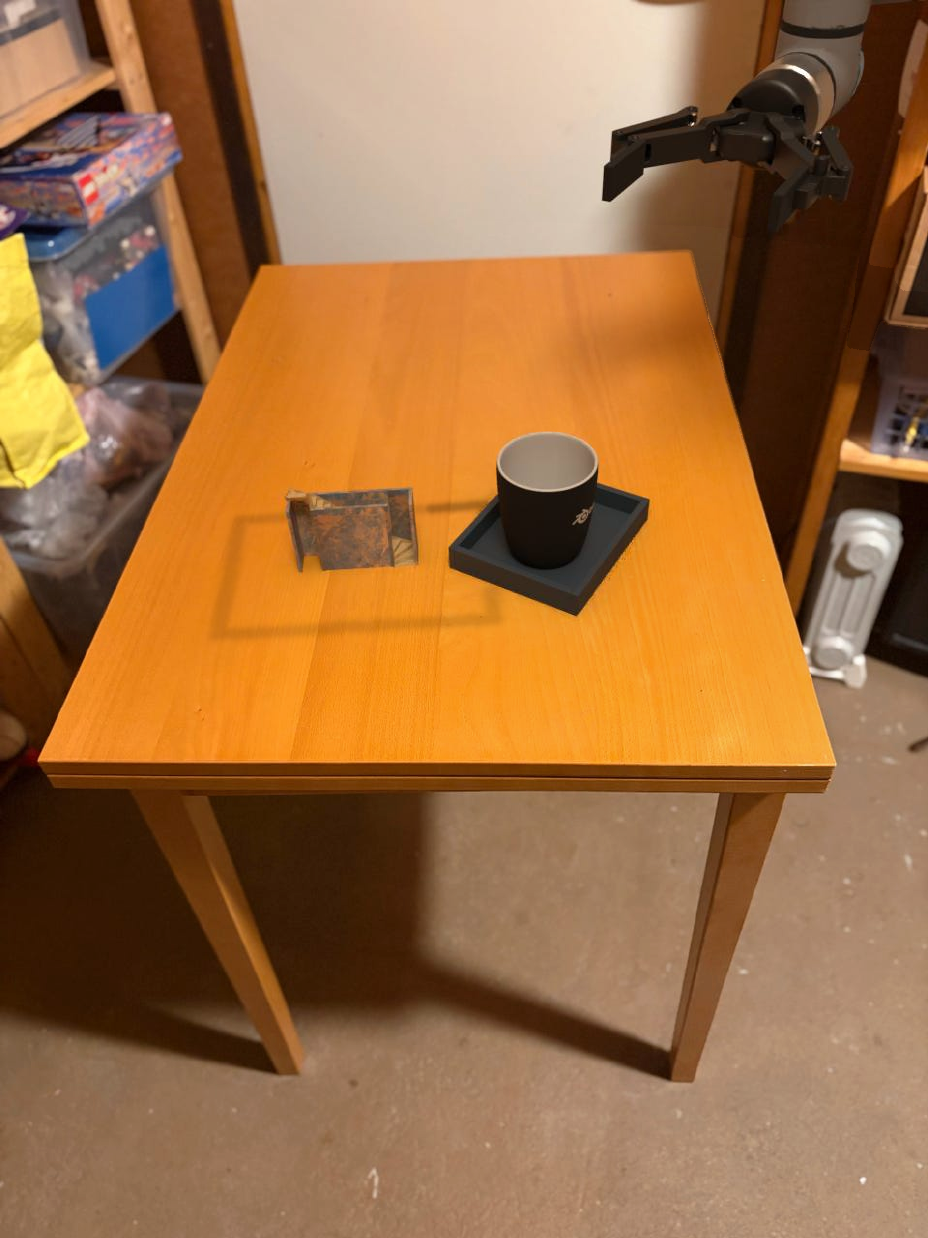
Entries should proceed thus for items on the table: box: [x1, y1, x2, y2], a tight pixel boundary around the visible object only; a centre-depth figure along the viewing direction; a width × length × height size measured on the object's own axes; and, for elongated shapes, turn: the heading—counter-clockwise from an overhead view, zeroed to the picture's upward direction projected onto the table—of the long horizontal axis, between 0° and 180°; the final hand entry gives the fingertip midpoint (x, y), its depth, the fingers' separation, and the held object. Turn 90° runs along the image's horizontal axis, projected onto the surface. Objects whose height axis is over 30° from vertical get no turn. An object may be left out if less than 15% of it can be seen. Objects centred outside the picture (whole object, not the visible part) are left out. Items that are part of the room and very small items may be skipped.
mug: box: [495, 431, 600, 569], centre depth 86 cm, size 12×9×10 cm
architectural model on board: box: [284, 486, 419, 573], centre depth 86 cm, size 11×3×10 cm, turn 92°
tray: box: [447, 482, 651, 617], centre depth 89 cm, size 13×15×2 cm
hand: (687, 198), depth 71 cm, fingers open, 13 cm apart
